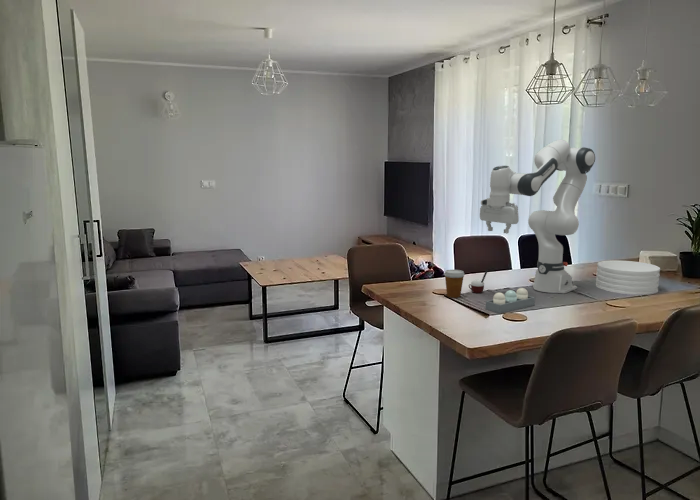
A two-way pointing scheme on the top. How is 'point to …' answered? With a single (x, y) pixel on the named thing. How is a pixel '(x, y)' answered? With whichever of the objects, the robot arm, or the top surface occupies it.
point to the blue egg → (510, 296)
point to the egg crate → (510, 305)
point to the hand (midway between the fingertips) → (498, 232)
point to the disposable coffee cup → (454, 282)
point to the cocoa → (478, 284)
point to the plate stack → (627, 277)
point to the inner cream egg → (522, 293)
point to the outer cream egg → (499, 298)
